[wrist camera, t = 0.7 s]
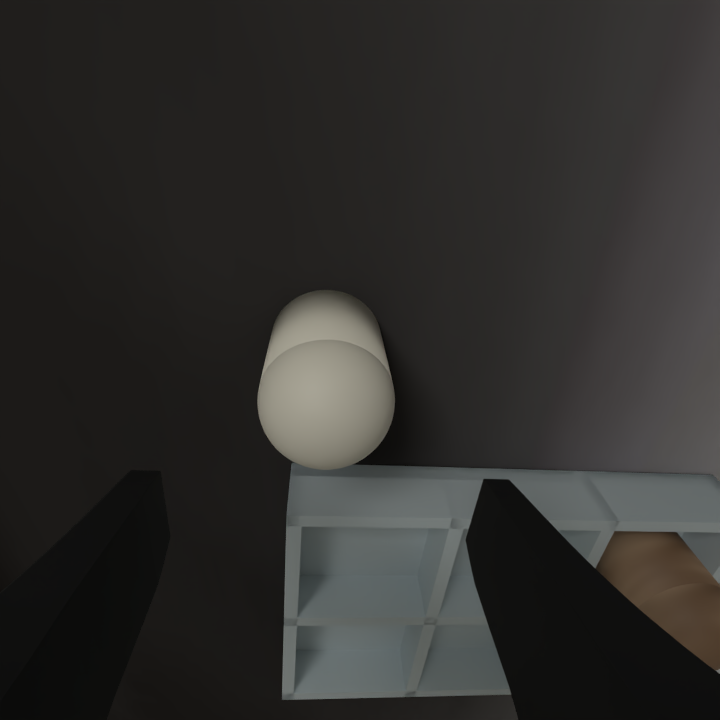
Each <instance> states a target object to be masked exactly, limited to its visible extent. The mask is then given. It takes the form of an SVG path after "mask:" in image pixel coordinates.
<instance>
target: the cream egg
mask: <svg viewBox="0 0 720 720" xmlns="http://www.w3.org/2000/svg"><path fill="white" fill-rule="evenodd" d="M257 403H258V413H259V418H260V422H261V424H262V427H263V429H264V432H265V434H266V435H267V437H268V439H269V440H270V442H271V443H272V444H273V445H274V447H275V448H276V449H277V450H278V451H279V452H280V453H281V454H283V455H284V456H285V457H287V458H288V459H290V460H291V461H293V462H295V463H297V464H299V465H302V466H305V467H308V468H313V469H319V470H332V469H339V468H343V467H347V466H350V465H352V464H355V463H357V462H359V461H360V460H362V459H364V458H365V457H366V456H368V455H369V454H370V453H371V452H373V451H374V450H375V449H376V448H377V447H378V445H379V444H380V443H381V442H382V440H383V439H384V437H385V435H386V434H387V432H388V430H389V427H390V425H391V422H392V419H393V415H394V408H395V394H394V387H393V382H392V378H391V374H390V370H389V365H388V361H387V357H386V353H385V349H384V344H383V340H382V336H381V332H380V327H379V324H378V322H377V319H376V318H375V316H374V314H373V313H372V311H371V310H370V309H369V308H368V307H367V306H366V305H365V304H364V303H363V302H361V301H360V300H359V299H357V298H355V297H353V296H352V295H349V294H347V293H344V292H340V291H334V290H318V291H313V292H309V293H306V294H303V295H301V296H299V297H297V298H295V299H294V300H292V301H291V302H290V303H288V304H287V305H286V306H285V307H284V308H283V309H282V311H281V312H280V313H279V315H278V317H277V318H276V320H275V323H274V326H273V330H272V334H271V338H270V342H269V347H268V351H267V355H266V360H265V364H264V368H263V372H262V377H261V381H260V385H259V390H258V401H257Z"/></svg>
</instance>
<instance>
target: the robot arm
mask: <svg viewBox="0 0 720 720" xmlns="http://www.w3.org/2000/svg"><path fill="white" fill-rule="evenodd" d="M169 540H170V531H169V525H168V518H167V511H166V505H165V498H164V492H163V485H162V478H161V472H160V471H139V470H131V471H130V472H128V473H127V474H126V475H125V476H124V477H123V478H122V479H121V480H120V481H119V482H118V483H117V484H116V485H115V486H114V487H113V488H112V489H111V490H110V491H109V492H108V493H107V494H106V495H105V496H104V497H103V498H102V499H101V500H100V501H99V502H98V503H97V504H96V505H95V506H94V507H93V508H92V509H91V510H90V511H89V512H88V513H87V514H86V515H85V516H84V517H83V518H82V519H81V520H80V521H79V522H78V523H77V524H75V525H74V526H73V527H72V528H71V529H70V530H69V531H68V532H67V533H66V534H65V535H64V536H63V537H62V538H61V539H60V540H58V541H57V542H56V543H55V544H54V545H53V546H52V547H51V548H50V549H49V550H48V551H47V552H46V553H45V554H44V555H42V556H41V557H40V558H39V559H38V560H37V561H36V562H35V563H34V564H32V565H31V566H30V567H29V568H28V569H27V570H26V571H24V572H23V573H22V574H21V575H20V576H19V577H18V578H16V579H15V580H14V581H13V582H12V583H11V584H10V585H8V586H7V587H6V588H5V589H4V590H3V591H2V592H0V720H106V719H107V717H108V714H109V711H110V708H111V705H112V702H113V699H114V697H115V694H116V692H117V689H118V686H119V684H120V681H121V679H122V676H123V674H124V671H125V668H126V666H127V663H128V661H129V658H130V656H131V653H132V650H133V648H134V645H135V643H136V640H137V638H138V635H139V632H140V630H141V627H142V625H143V622H144V620H145V617H146V614H147V612H148V609H149V606H150V604H151V601H152V599H153V596H154V593H155V591H156V588H157V585H158V582H159V578H160V575H161V571H162V567H163V564H164V560H165V556H166V552H167V548H168V544H169ZM466 545H467V550H468V555H469V560H470V565H471V570H472V574H473V579H474V583H475V587H476V590H477V593H478V596H479V599H480V602H481V605H482V608H483V611H484V614H485V617H486V620H487V623H488V626H489V629H490V632H491V635H492V638H493V641H494V644H495V647H496V650H497V653H498V656H499V659H500V662H501V665H502V667H503V670H504V673H505V676H506V679H507V682H508V685H509V688H510V692H511V695H512V698H513V702H514V705H515V708H516V712H517V715H518V719H519V720H720V674H719V673H718V672H717V671H715V670H714V669H713V668H711V667H710V666H709V665H707V664H706V663H705V662H703V661H702V660H701V659H700V658H698V657H697V656H696V655H694V654H693V653H692V652H691V651H689V650H688V649H687V648H685V647H684V646H683V645H682V644H680V643H679V642H678V641H677V640H676V639H674V638H673V637H672V636H671V635H670V634H668V633H667V632H666V631H665V630H664V629H662V628H661V627H660V626H659V625H658V624H656V623H655V622H654V621H653V620H652V619H650V618H649V617H648V616H647V615H646V614H644V613H643V612H642V611H641V610H640V609H639V608H638V607H636V606H635V605H634V604H633V603H632V602H631V601H630V600H629V599H627V598H626V597H625V596H624V595H623V594H622V593H621V592H620V591H619V590H618V589H617V588H616V587H614V586H613V585H612V584H611V583H610V582H609V581H608V580H607V579H606V578H605V577H604V576H603V575H601V574H600V573H599V572H598V571H597V570H596V569H595V568H594V567H593V566H592V565H591V564H590V563H589V562H588V561H587V560H586V559H585V558H584V557H583V556H582V555H581V554H580V553H579V552H578V551H577V550H576V549H575V548H574V547H573V546H572V545H571V544H570V543H569V542H568V541H567V540H566V539H565V538H564V537H563V536H562V535H561V534H560V533H559V532H558V531H557V529H556V528H555V527H554V526H553V525H552V524H551V523H550V522H549V521H548V520H547V519H546V518H545V517H544V516H543V515H542V514H541V513H540V512H539V510H538V509H537V508H536V507H535V506H534V505H533V504H532V503H531V502H530V501H529V500H528V499H527V498H526V497H525V496H524V494H523V493H522V492H521V491H520V490H519V489H518V488H517V487H516V486H515V485H514V484H513V483H512V482H511V481H510V480H509V479H483V482H482V486H481V489H480V492H479V496H478V499H477V502H476V506H475V509H474V513H473V516H472V519H471V523H470V526H469V529H468V533H467V536H466Z"/></svg>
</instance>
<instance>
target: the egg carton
mask: <svg viewBox="0 0 720 720" xmlns="http://www.w3.org/2000/svg"><path fill="white" fill-rule="evenodd" d="M483 479H509V480H510V481H511V482H512V483H513V484H514V485H515V486H516V487H517V488H518V489H519V490H520V491H521V492H522V493H523V494H524V496H525V497H526V498H527V499H528V500H529V501H530V502H531V503H532V504H533V505H534V506H535V507H536V508H537V509H538V510H539V512H540V513H541V514H542V515H543V516H544V517H545V518H546V519H547V520H548V521H549V522H550V523H551V524H552V525H553V526H554V527H555V528H556V529H557V531H558V532H559V533H560V534H561V535H562V536H563V537H564V538H565V539H566V540H567V541H568V542H569V543H570V544H571V545H572V546H573V547H574V548H575V549H576V550H577V551H578V552H579V553H580V554H581V555H582V556H583V557H584V558H585V559H586V560H587V561H588V562H589V563H590V564H591V565H592V566H593V567H594V568H596V566H597V564H598V562H599V560H600V558H601V556H602V554H603V552H604V551H605V549H606V547H607V545H608V543H609V541H610V539H611V537H612V535H613V533H614V531H644V532H677V533H678V534H679V536H680V537H681V538H682V539H683V540H684V542H685V543H686V544H687V545H688V547H689V548H690V549H691V550H692V551H693V553H694V554H695V555H696V556H697V558H698V559H699V560H700V561H701V563H702V564H703V565H704V566H705V567H706V569H707V570H708V571H709V572H710V574H711V575H712V576H713V577H714V579H715V580H716V581H717V582H718V583H720V482H719V481H718V480H717V479H716V478H715V477H714V476H713V475H703V474H668V473H633V472H597V471H562V470H527V469H492V468H456V467H421V466H386V465H350V466H347V467H343V468H339V469H332V470H319V469H313V468H308V467H305V466H302V465H299V464H297V463H292V464H291V475H290V485H289V496H288V506H287V520H286V561H285V602H284V642H283V683H282V700H293V699H337V698H380V697H424V696H467V695H510V694H511V692H510V688H509V685H508V682H507V679H506V676H505V673H504V670H503V667H502V665H501V662H500V659H499V656H498V653H497V650H496V647H495V644H494V641H493V638H492V635H491V632H490V629H489V626H488V623H487V620H486V617H485V614H484V611H483V608H482V605H481V602H480V599H479V596H478V593H477V590H476V587H475V583H474V579H473V574H472V570H471V565H470V560H469V555H468V550H467V545H466V536H467V533H468V529H469V526H470V523H471V519H472V516H473V513H474V509H475V506H476V502H477V499H478V496H479V492H480V489H481V486H482V482H483Z"/></svg>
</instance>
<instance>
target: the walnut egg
mask: <svg viewBox="0 0 720 720" xmlns="http://www.w3.org/2000/svg"><path fill="white" fill-rule="evenodd" d="M595 569H596V570H597V571H598V572H599V573H600V574H601V575H603V576H604V577H605V578H606V579H607V580H608V581H609V582H610V583H611V584H612V585H613V586H614V587H616V588H617V589H618V590H619V591H620V592H621V593H622V594H623V595H624V596H625V597H626V598H627V599H629V600H630V601H631V602H632V603H633V604H634V605H635V606H636V607H638V608H639V609H640V610H641V611H642V612H643V613H644V614H646V615H647V616H648V617H649V618H650V619H652V620H653V621H654V622H655V623H656V624H658V625H659V626H660V627H661V628H662V629H664V630H665V631H666V632H667V633H668V634H670V635H671V636H672V637H673V638H674V639H676V640H677V641H678V642H679V643H680V644H682V645H683V646H684V647H685V648H687V649H688V650H689V651H691V652H692V653H693V654H694V655H696V656H697V657H698V658H700V659H701V660H702V661H703V662H705V663H706V664H707V665H709V666H710V667H711V668H713V669H714V670H715V671H716V670H719V669H720V585H719V583H718V582H717V581H716V580H715V579H714V577H713V576H712V575H711V574H710V572H709V571H708V570H707V569H706V567H705V566H704V565H703V564H702V563H701V561H700V560H699V559H698V558H697V556H696V555H695V554H694V553H693V551H692V550H691V549H690V548H689V547H688V545H687V544H686V543H685V542H684V540H683V539H682V538H681V537H680V536H679V534H678V533H677V532H644V531H614V533H613V535H612V537H611V539H610V541H609V543H608V545H607V547H606V549H605V551H604V552H603V554H602V556H601V558H600V560H599V562H598V564H597V566H596V568H595Z"/></svg>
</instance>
